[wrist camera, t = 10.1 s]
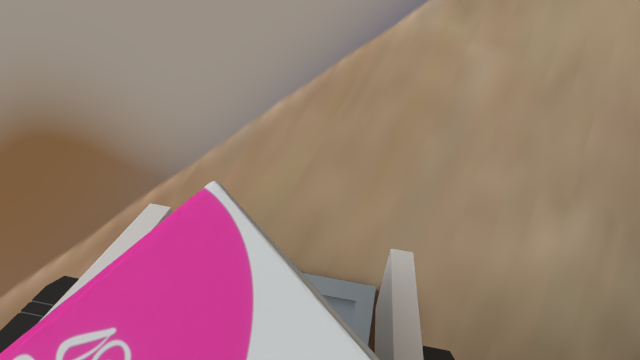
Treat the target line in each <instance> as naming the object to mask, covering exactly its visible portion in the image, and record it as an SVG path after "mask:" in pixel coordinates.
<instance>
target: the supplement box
mask: <svg viewBox="0 0 640 360" xmlns="http://www.w3.org/2000/svg"><path fill="white" fill-rule="evenodd" d="M0 360H380V359H379V358H378V357H377V356H376V355H375V353H374V352H373V351H372V350H371V349H370V348H369V347H368V346H367V344H366V343H365V342H364V341H363V340H362V339H361V338H360V337H359V336H358V334H357V333H356V332H355V331H354V330H353V329H352V328H351V327H350V326H349V324H348V323H347V322H346V321H345V320H344V319H343V318H342V317H341V316H340V314H339V313H338V312H337V311H336V310H335V309H334V308H333V307H332V305H331V304H330V303H329V302H328V301H327V300H326V299H325V298H324V297H323V295H322V294H321V293H320V292H319V291H318V290H317V289H316V288H315V287H314V286H313V284H312V283H311V282H310V281H309V280H308V279H307V278H306V277H305V276H304V275H303V274H302V272H301V271H300V270H299V269H298V268H297V267H296V266H295V265H294V264H293V263H292V262H291V260H290V259H289V258H288V257H287V256H286V255H285V254H284V253H283V252H282V251H281V250H280V248H279V247H278V246H277V245H276V244H275V243H274V242H273V241H272V240H271V239H270V238H269V237H268V235H267V234H266V233H265V232H264V231H263V230H262V229H261V228H260V227H259V226H258V225H257V224H256V222H255V221H254V220H253V219H252V218H251V217H250V216H249V215H248V214H247V213H246V212H245V211H244V209H243V208H242V207H241V206H240V205H239V204H238V203H237V202H236V200H235V199H234V198H233V197H232V196H231V195H230V194H229V193H228V192H227V191H226V189H225V188H224V187H223V186H222V185H220V184H219V183H218V182H217V181H213V182H211V183H209V184H207V185H206V186H205V187H204V188H203V189H202V190H201V191H200V192H198V193H197V194H196V195H194V196H193V197H192V198H190V199H189V200H188V201H187V202H185V203H184V204H183V205H182V206H180V207H179V208H178V209H177V210H176V211H174V212H173V213H172V214H171V215H169V216H168V217H167V218H166V219H165V220H163V221H162V222H161V223H160V224H159V225H158V226H156V227H155V228H154V229H153V230H151V231H150V232H149V233H148V234H146V235H145V236H144V237H143V238H141V239H140V240H139V241H138V242H137V243H135V244H134V245H133V246H132V247H130V248H129V249H128V250H127V251H126V252H124V253H123V254H122V255H121V256H119V257H118V258H117V259H116V260H114V261H113V262H112V263H111V264H109V265H108V266H107V267H106V268H105V269H103V270H102V271H101V272H100V273H99V274H97V275H96V276H95V277H94V278H93V279H91V280H90V281H89V282H88V283H86V284H85V285H84V286H83V287H81V288H80V289H79V290H78V291H77V292H75V293H74V294H73V295H72V296H70V297H69V298H68V299H66V300H65V301H64V302H62V303H61V304H60V305H59V306H58V307H56V308H55V309H54V310H53V311H52V312H50V313H49V314H48V315H47V316H46V317H45V318H43V319H42V320H41V321H40V322H39V323H37V324H36V325H35V326H34V327H32V328H31V329H30V330H29V331H27V332H26V333H25V334H23V335H22V336H21V337H20V338H19V339H17V340H16V341H15V342H14V343H13V344H11V345H10V346H9V347H8V348H7V349H5V350H4V351H3V352H2V353H0Z"/></svg>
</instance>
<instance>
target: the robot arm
mask: <svg viewBox="0 0 640 360" xmlns="http://www.w3.org/2000/svg"><path fill="white" fill-rule="evenodd" d="M169 215H171V207H166V206H161V205H155V204H149V205H148V207H147V208H146V209H145V210H144V211H143V212H142V213H141V214H140V215H139V216H138V217H137V218H136V219H135V220H134V221H133V222H132V223H131V225H130V226H129V227H128V228H127V229H126V230H125V231H124V232H123V233H122V234H121V235H120V236H119V237H118V238H117V239H116V240H115V242H114V243H113V244H112V245H111V246H110V247H109V248H108V249H107V250H106V251H105V252H104V253H103V254H102V255H101V256H100V257H99V259H98V260H97V261H96V262H95V263H94V264H93V265H92V266H91V267H90V268H89V269H88V270H87V271H86V272H85V273H84V274H83V276H82V277H81V278H80V279H77V278H72V277H67V276H63V277H62V278H60V279H58V280H56V281H54V282H53V283H51V284H49V285H47V286H46V287H45V288H44V289H43V290H42V291H41V292H40V293H38V294H37V295H36V296H35V297H34V298H33V299H32V302H29V303H28V304H27V305H26V306H25V307H24V308H23V309H22V310H21V313H20V314H19V313H18V314H17V315H16V316H15V317H14V318H13V319H12V320H11V321H10V322H9V323H8V324H7V325H6V326H5V327H4V328H3V329H2V330H1V331H0V353H2V352H3V351H4V350H5V349H7V348H8V347H9V346H10V345H11V344H13V343H14V342H15V341H16V340H17V339H19V338H20V337H21V336H22V335H23V334H25V333H26V332H27V331H29V330H30V329H31V328H32V327H34V326H35V325H36V324H37V323H39V322H40V321H41V320H42V319H43V318H45V317H46V316H47V315H48V314H49V313H50V312H52V311H53V310H54V309H55V308H56V307H58V306H59V305H60V304H61V303H62V302H64V301H65V300H66V299H68V298H69V297H70V296H72V295H73V294H74V293H75V292H77V291H78V290H79V289H80V288H81V287H83V286H84V285H85V284H86V283H88V282H89V281H90V280H91V279H93V278H94V277H95V276H96V275H97V274H99V273H100V272H101V271H102V270H103V269H105V268H106V267H107V266H108V265H109V264H111V263H112V262H113V261H114V260H116V259H117V258H118V257H119V256H121V255H122V254H123V253H124V252H126V251H127V250H128V249H129V248H130V247H132V246H133V245H134V244H135V243H137V242H138V241H139V240H140V239H141V238H143V237H144V236H145V235H146V234H148V233H149V232H150V231H151V230H153V229H154V228H155V227H156V226H158V225H159V224H160V223H161V222H162V221H163V220H165V219H166V218H167V217H168V216H169ZM375 355H376V356H377V357H378V358H379V359H380V360H455V359H454V358H453V356H452V354H451V353H450V351H447V350H442V349H436V348H431V347H426V346H422V338H421V328H420V318H419V308H418V298H417V288H416V278H415V268H414V258H413V253H412V252H407V251H402V250H396V249H391V250H390V254H389V258H388V262H387V266H386V269H385V273H384V277H383V281H382V285H381V288H380V292H379V296H378V300H377V304H376V313H375Z"/></svg>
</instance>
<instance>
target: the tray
mask: <svg viewBox="0 0 640 360" xmlns="http://www.w3.org/2000/svg"><path fill="white" fill-rule="evenodd" d="M302 274H303V275H304V276H305V277H306V278H307V279H308V280H309V281H310V282H311V283H312V284H313V286H314V287H315V288H316V289H317V290H318V291H319V292H320V293H321V294H322V295H323V297H324V298H325V299H326V300H327V301H328V302H329V303H330V304H331V305H332V307H333V308H334V309H335V310H336V311H337V312H338V313H339V314H340V316H341V317H342V318H343V319H344V320H345V321H346V322H347V323H348V324H349V326H350V327H351V328H352V329H353V330H354V331H355V332H356V333H357V334H358V336H359V337H360V338H361V339H362V340H363V341H364V342H365V343H366V344H367V346H368V342H369V334H370V327H371V320H372V313H373V305H374V298H375V291H376V286H372V285H366V284H361V283H355V282H350V281H344V280H339V279H333V278H328V277H322V276H317V275H311V274H306V273H302Z"/></svg>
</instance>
